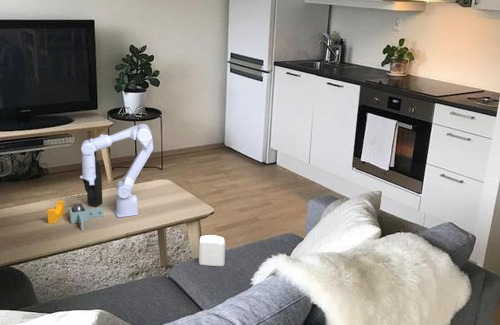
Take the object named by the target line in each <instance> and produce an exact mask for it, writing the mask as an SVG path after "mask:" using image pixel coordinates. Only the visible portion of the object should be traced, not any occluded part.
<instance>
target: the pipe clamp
mask: <svg viewBox="0 0 500 325" xmlns="http://www.w3.org/2000/svg"><path fill="white" fill-rule="evenodd" d="M46 212H47V224H48V225H50V224H51V225H55V223H56V222H58V220H59V219H60V218H62V217H63V216H64V215H65V213H66V212H65V201H64V200H57V201H56V205H55V206H54V207H52V208H48V209H47V211H46Z"/></svg>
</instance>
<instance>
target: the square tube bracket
mask: <svg viewBox="0 0 500 325" xmlns="http://www.w3.org/2000/svg"><path fill="white" fill-rule="evenodd" d="M102 217H104V207H103V206H102V207H101V206H100V207H99V206H98V207H93V208H87V207H86V205H85V204H84V205H83V211H80V212H74V208H73V206H68V218H69V220H70V223H71V224H79V227H80V230H81V231H84V228H85V227H84V223H87V222H89V219H95V218H102Z"/></svg>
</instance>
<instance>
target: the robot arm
mask: <svg viewBox="0 0 500 325" xmlns="http://www.w3.org/2000/svg"><path fill="white" fill-rule="evenodd" d="M125 139H131V140H134V141H136V140H138V141H139V143H140V145H141V146H142V147H141V148H140V150H139V151H138V153H137V154H136V157H135V158H134V160H133V162H132V163H131V166H130V167H129V168H128V170H127V172H126V174H125V175H124V176H123V177H122V179H120V180H118V182H117V183H116V190H117V191H116V195H115V196H116V198H115V199H116V200H115V203H116V205H115V206H116V209H114V213H115V215H116V217H117V218H124V217H133V216H138V215H139V213H138V197H137V195H136V194H132V189H133V187H134V184H135V181H136V179H137V178H138V176H139V174H141V173H140V172H141V171H142V170H143V167H144V166H145V164H146V162H147V161H148V159H149V158H150V156H151V154H152V153H153V150H154V142H153V135H152V131H151V129H150V127H149V126H148V125H147V124H146V123H140V124H138V125H134V126H131V127H128V128H126V129H123V130H121V131H118V132H116V133H113V134H111V135H109V134H107V133H106V134H103V133H102V134H100V135H99V136H97V137H95V138H92V137H91V138H89V139H85V140H84V141H82V143H81V147H80V150H81V151H80V152H81V167H82V168H81V169H82V175H80V176H79V179H81V180H82V182H83V185H84V189H85V192H86V193H87V192H88V197H89V198H93V197H94V194H95V189H96V187H97V185H98V184H97V183H94V180H95V178H96V172H95V156H94V152H95V151H96V152H97V151H102V150H104V149H107V148H110V147H111V146H112V144H113V143H116V142H119V141H122V140H123V141H124V140H125Z"/></svg>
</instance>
